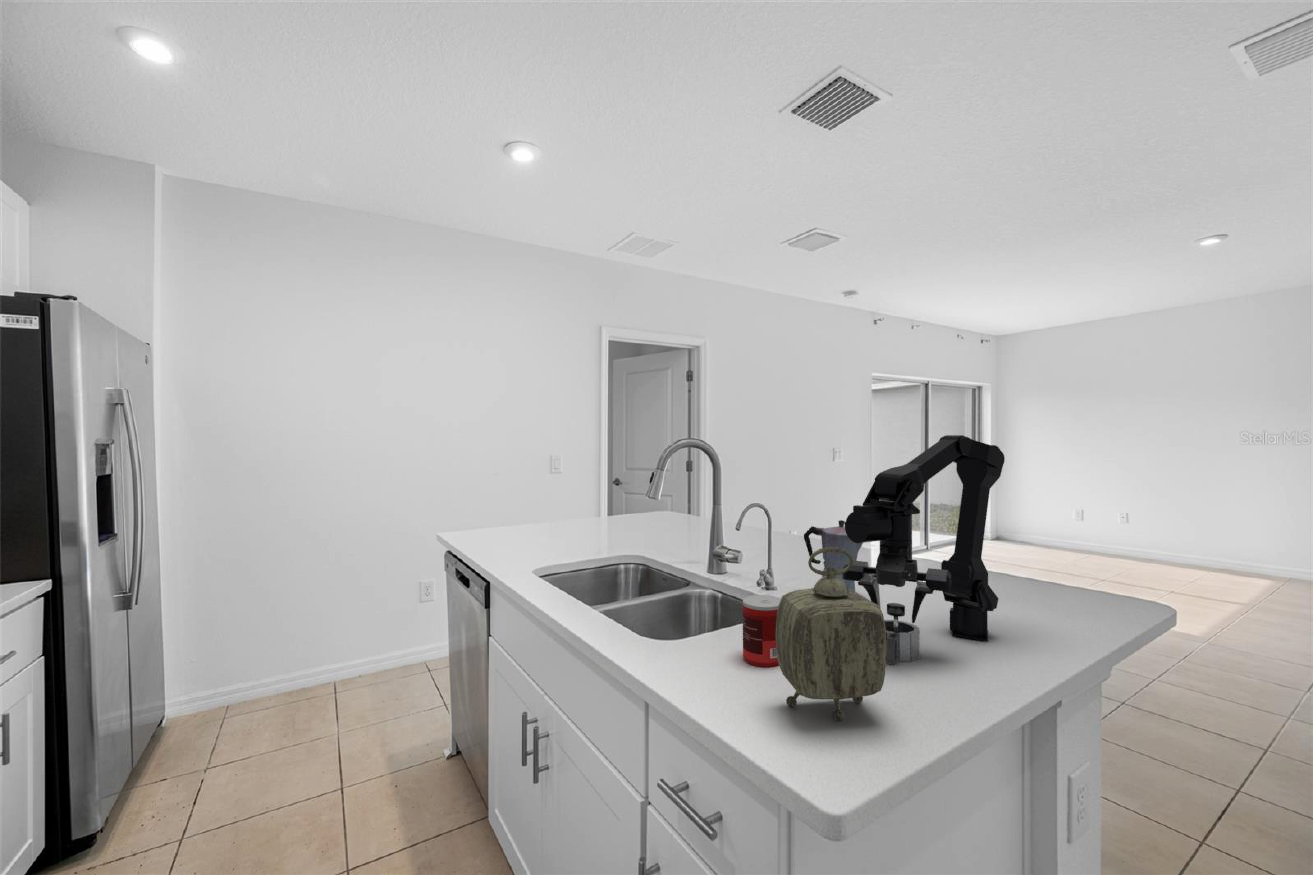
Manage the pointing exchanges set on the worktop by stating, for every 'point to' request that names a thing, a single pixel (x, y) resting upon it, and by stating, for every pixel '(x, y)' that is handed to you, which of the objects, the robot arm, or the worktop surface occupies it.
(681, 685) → the worktop surface
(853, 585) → the moka pot
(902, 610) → the plunger
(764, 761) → the worktop surface
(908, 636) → the press carafe
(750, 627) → the canned food
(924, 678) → the worktop surface
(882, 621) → the tabletop clock
